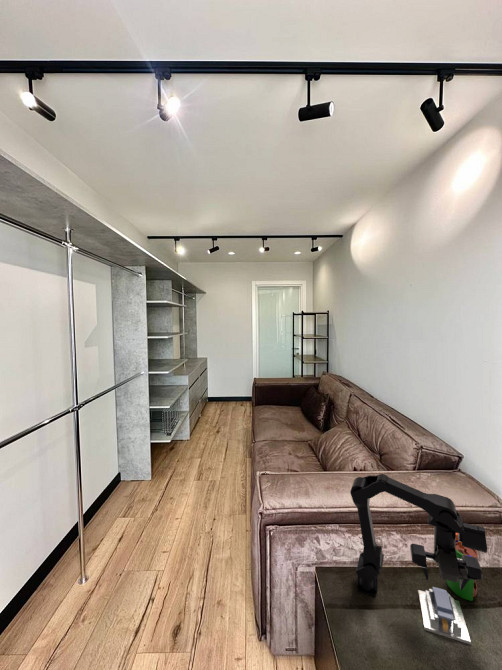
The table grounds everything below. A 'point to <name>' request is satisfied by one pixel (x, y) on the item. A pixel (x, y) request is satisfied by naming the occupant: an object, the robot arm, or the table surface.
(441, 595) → the block
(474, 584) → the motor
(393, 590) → the table surface
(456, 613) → the chassis
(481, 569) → the robot arm
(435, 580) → the table surface
